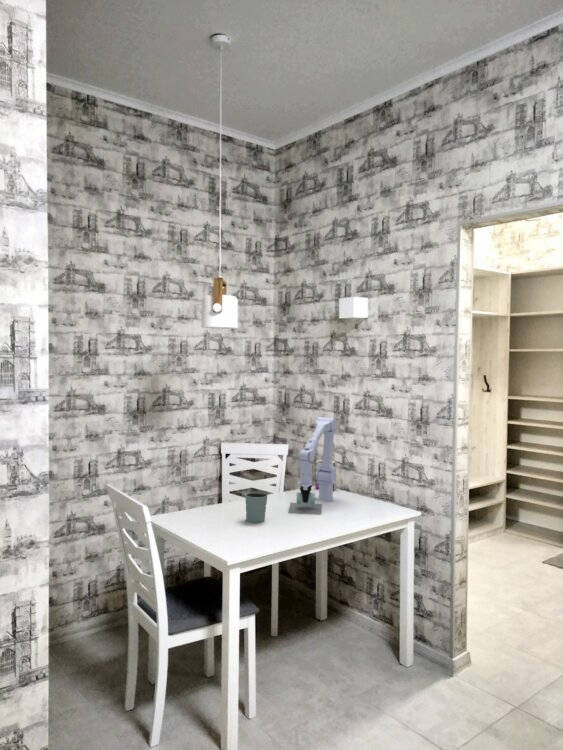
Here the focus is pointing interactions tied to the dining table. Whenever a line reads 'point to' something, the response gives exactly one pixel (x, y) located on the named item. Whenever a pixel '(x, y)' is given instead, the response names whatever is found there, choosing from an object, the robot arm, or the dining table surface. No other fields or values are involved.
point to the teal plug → (310, 500)
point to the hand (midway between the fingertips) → (305, 501)
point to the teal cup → (255, 507)
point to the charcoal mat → (305, 509)
